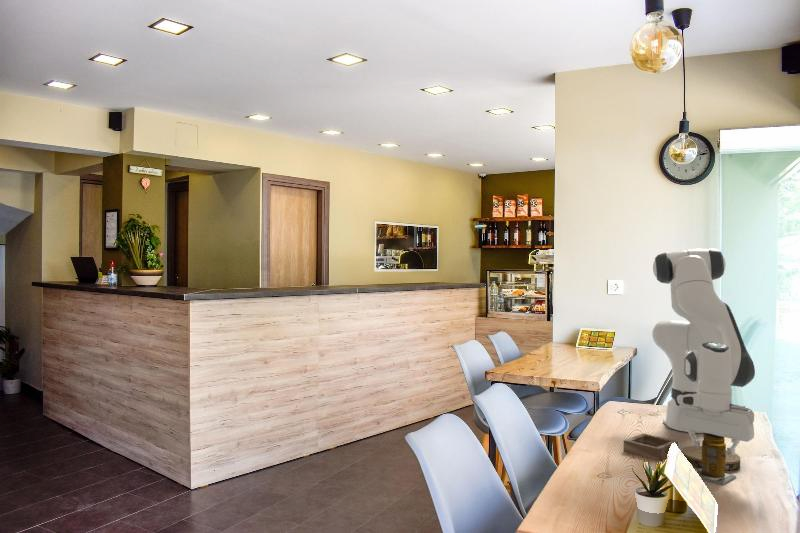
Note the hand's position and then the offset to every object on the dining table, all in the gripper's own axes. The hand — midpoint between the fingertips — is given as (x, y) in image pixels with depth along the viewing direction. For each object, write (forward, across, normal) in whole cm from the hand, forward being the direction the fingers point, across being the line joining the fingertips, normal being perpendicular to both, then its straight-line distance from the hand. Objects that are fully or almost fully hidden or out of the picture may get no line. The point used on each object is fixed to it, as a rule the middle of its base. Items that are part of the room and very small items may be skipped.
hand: (713, 449), depth 177 cm
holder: (+8, +22, -8) cm, 25 cm away
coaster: (+8, 0, 0) cm, 8 cm away
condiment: (+7, 0, 0) cm, 7 cm away
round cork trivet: (+8, +6, -13) cm, 16 cm away
